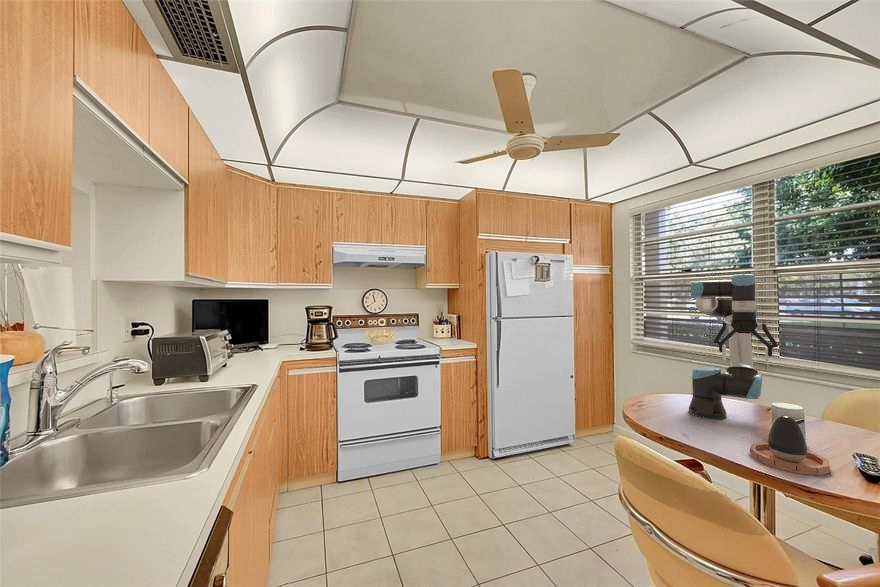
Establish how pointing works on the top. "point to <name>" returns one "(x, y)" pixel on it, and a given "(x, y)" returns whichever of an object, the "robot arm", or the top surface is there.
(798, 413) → the supplement tub
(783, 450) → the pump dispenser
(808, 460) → the round tray
